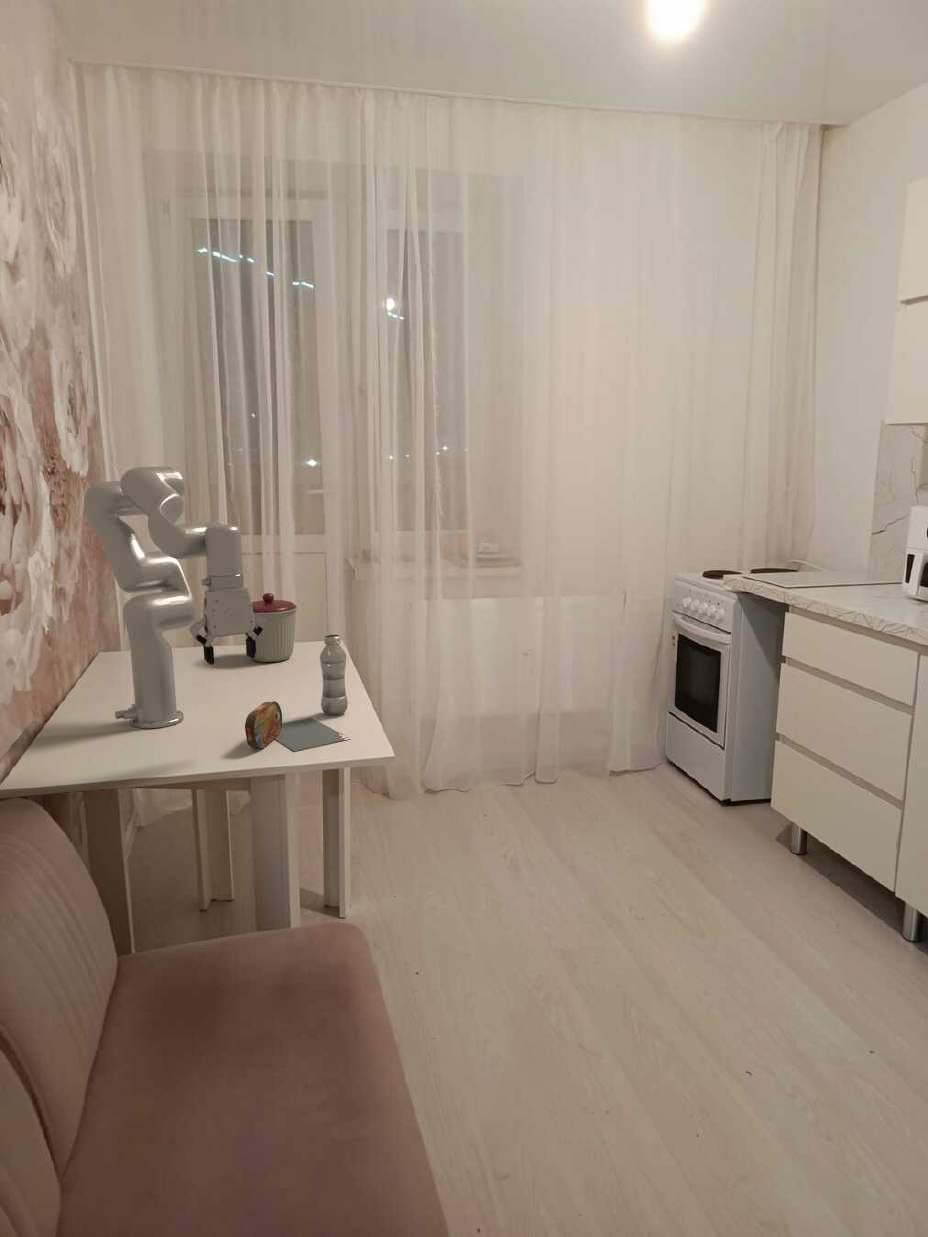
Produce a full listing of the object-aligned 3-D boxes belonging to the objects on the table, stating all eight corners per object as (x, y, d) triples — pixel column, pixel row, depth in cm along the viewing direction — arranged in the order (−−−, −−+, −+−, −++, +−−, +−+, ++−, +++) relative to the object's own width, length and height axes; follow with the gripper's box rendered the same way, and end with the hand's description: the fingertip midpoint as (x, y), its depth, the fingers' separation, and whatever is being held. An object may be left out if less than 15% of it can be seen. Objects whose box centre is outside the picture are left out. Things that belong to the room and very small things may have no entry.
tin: (257, 753, 196) (254, 717, 194) (244, 753, 197) (241, 716, 195) (284, 730, 211) (281, 696, 209) (272, 730, 211) (269, 696, 210)
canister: (302, 663, 276) (299, 596, 272) (241, 667, 272) (237, 599, 267) (299, 650, 293) (296, 587, 289) (242, 654, 289) (238, 589, 285)
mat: (294, 752, 197) (294, 751, 197) (258, 729, 213) (258, 728, 213) (350, 739, 205) (350, 738, 205) (311, 718, 221) (311, 717, 221)
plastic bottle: (318, 711, 227) (315, 634, 223) (345, 708, 229) (342, 632, 225) (324, 718, 221) (321, 639, 217) (351, 715, 223) (348, 637, 219)
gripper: (192, 588, 185) (198, 669, 188) (270, 580, 195) (274, 657, 198) (180, 584, 191) (186, 663, 194) (256, 576, 201) (261, 651, 204)
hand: (230, 660), depth 196 cm, fingers open, 8 cm apart
